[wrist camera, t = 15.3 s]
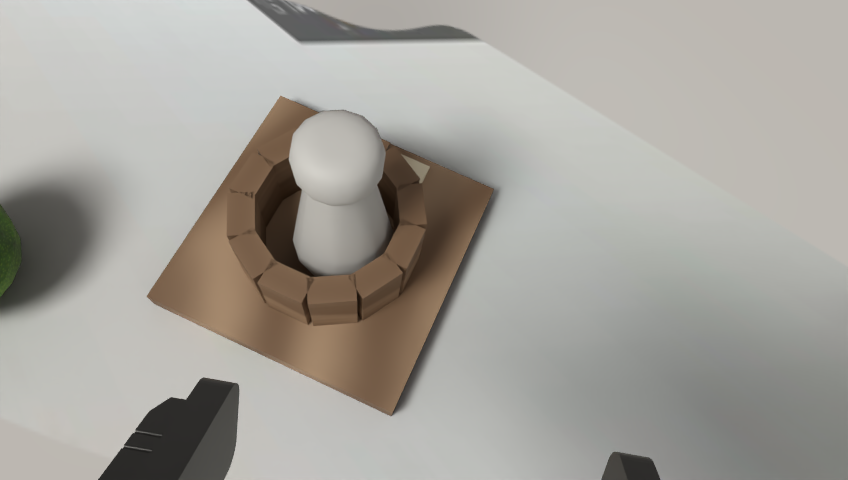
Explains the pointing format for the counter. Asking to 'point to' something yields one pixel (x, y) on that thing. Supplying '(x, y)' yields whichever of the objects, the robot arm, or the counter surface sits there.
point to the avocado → (8, 251)
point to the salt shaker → (339, 193)
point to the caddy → (327, 295)
